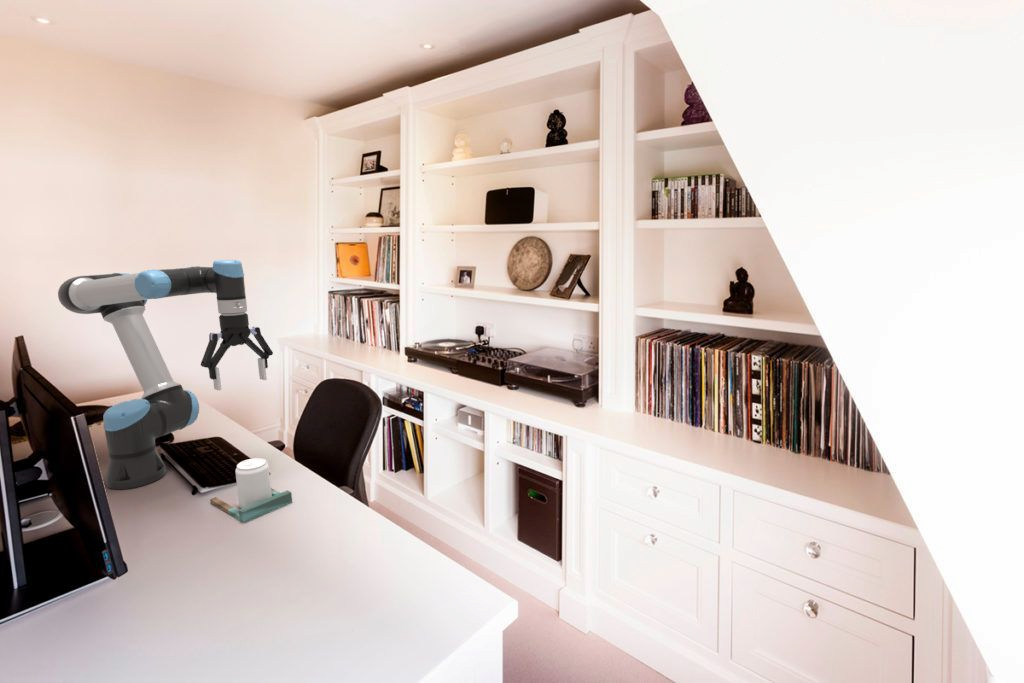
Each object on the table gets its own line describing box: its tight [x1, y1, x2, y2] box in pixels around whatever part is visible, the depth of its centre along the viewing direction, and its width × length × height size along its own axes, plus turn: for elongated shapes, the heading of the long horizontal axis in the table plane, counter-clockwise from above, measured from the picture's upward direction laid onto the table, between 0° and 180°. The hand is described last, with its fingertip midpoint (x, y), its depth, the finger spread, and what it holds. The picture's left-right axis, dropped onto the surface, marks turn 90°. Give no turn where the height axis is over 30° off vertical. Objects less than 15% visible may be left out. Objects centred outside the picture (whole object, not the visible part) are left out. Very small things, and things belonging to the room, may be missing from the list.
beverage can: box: [235, 457, 272, 509], centre depth 147 cm, size 8×8×12 cm
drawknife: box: [210, 487, 293, 524], centre depth 149 cm, size 18×14×3 cm
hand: (241, 384), depth 162 cm, fingers open, 13 cm apart
